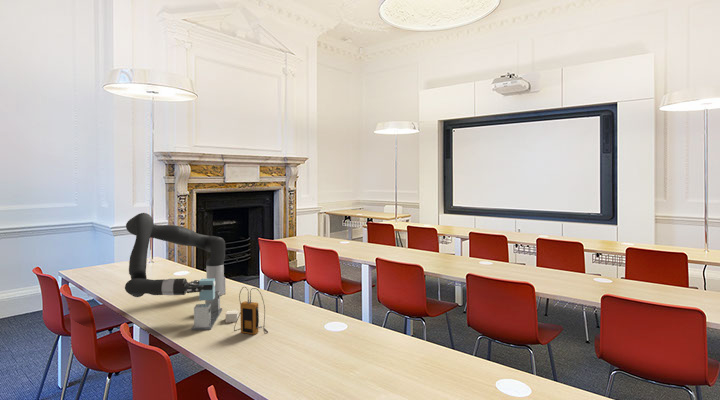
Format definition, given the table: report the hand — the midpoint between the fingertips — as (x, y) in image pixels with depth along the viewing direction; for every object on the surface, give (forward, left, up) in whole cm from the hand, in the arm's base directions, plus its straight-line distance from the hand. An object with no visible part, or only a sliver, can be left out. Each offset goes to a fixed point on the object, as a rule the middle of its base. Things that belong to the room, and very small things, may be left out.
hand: (213, 285), depth 183 cm
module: (+2, -2, -6) cm, 7 cm away
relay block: (-5, +7, -16) cm, 18 cm away
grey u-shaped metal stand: (+2, -2, -16) cm, 16 cm away
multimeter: (-5, +25, -16) cm, 30 cm away
